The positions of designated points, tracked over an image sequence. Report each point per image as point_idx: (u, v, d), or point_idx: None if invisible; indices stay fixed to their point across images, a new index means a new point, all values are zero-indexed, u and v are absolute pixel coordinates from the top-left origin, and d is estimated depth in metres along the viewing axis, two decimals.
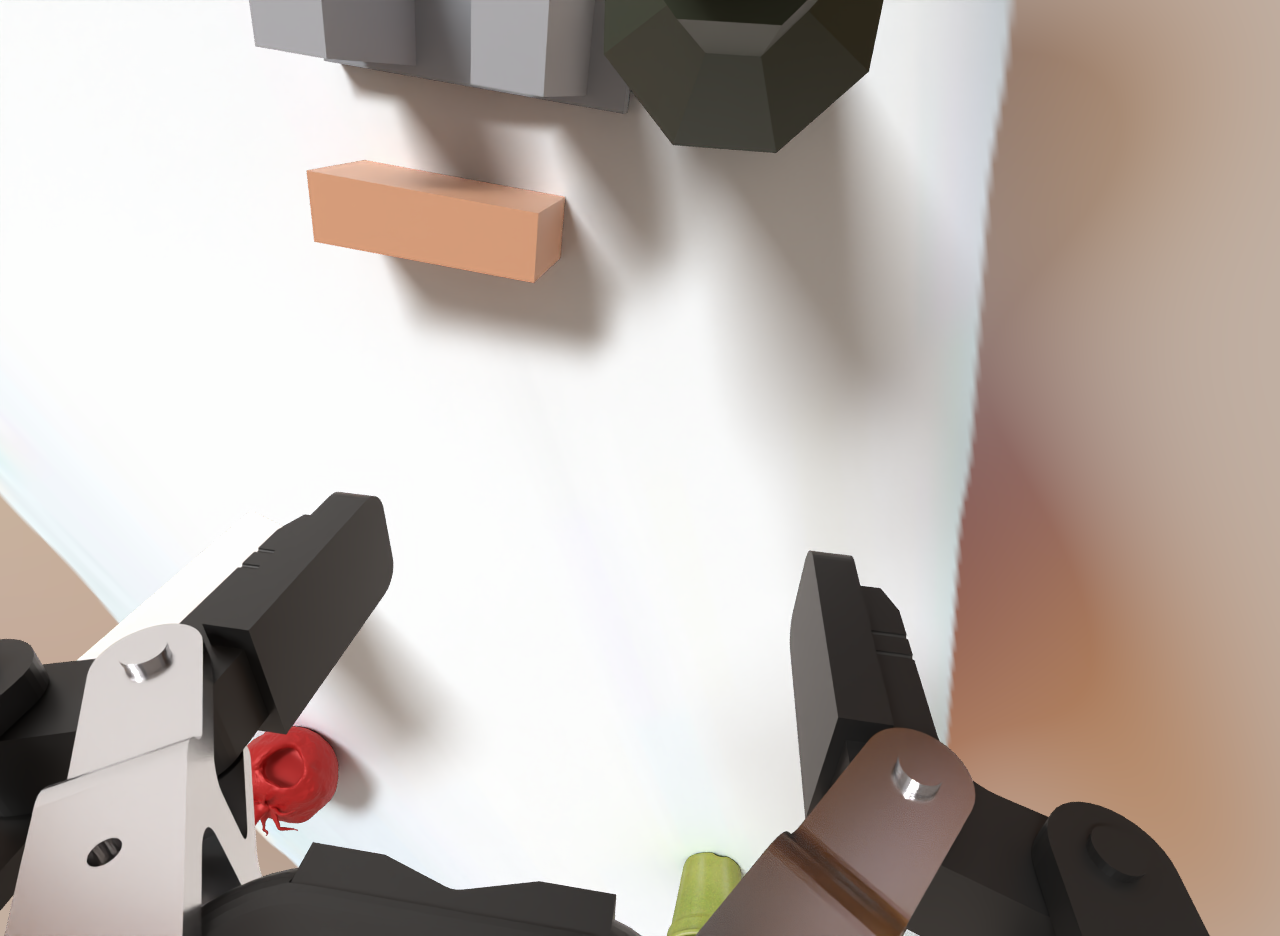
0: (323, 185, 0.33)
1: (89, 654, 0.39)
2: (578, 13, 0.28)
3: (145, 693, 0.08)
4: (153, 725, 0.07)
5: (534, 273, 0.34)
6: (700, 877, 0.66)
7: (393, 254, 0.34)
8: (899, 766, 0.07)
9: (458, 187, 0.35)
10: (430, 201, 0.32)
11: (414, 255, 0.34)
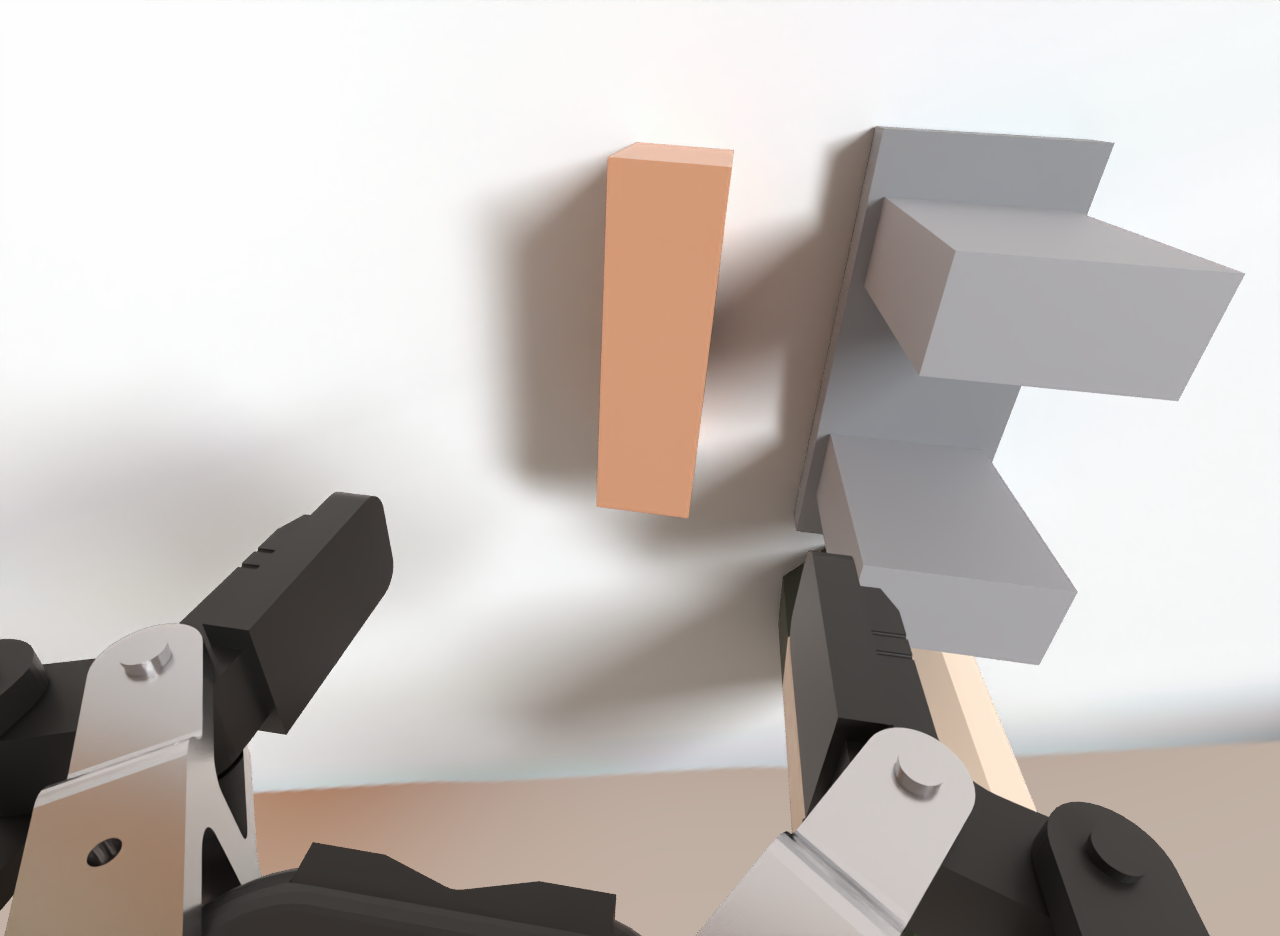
0: (707, 196, 0.18)
1: None
2: None
3: (145, 693, 0.08)
4: (153, 725, 0.07)
5: (609, 506, 0.24)
6: None
7: (606, 308, 0.20)
8: (899, 766, 0.07)
9: None
10: (693, 379, 0.21)
11: (609, 344, 0.21)
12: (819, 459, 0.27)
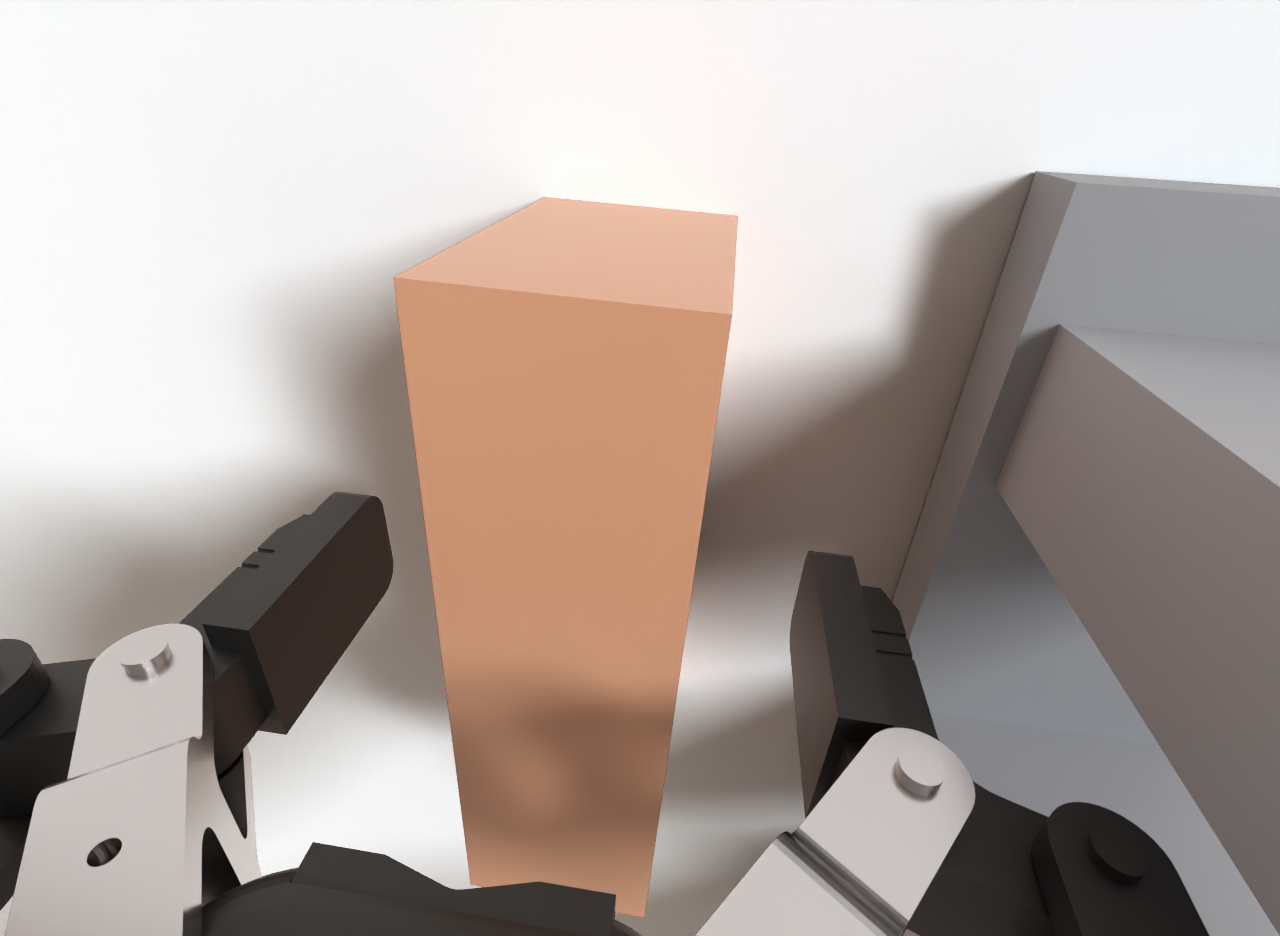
0: (665, 382, 0.07)
1: None
2: None
3: (145, 693, 0.08)
4: (153, 725, 0.07)
5: (495, 884, 0.13)
6: None
7: (441, 597, 0.09)
8: (899, 766, 0.07)
9: None
10: (645, 729, 0.10)
11: (458, 658, 0.09)
12: None
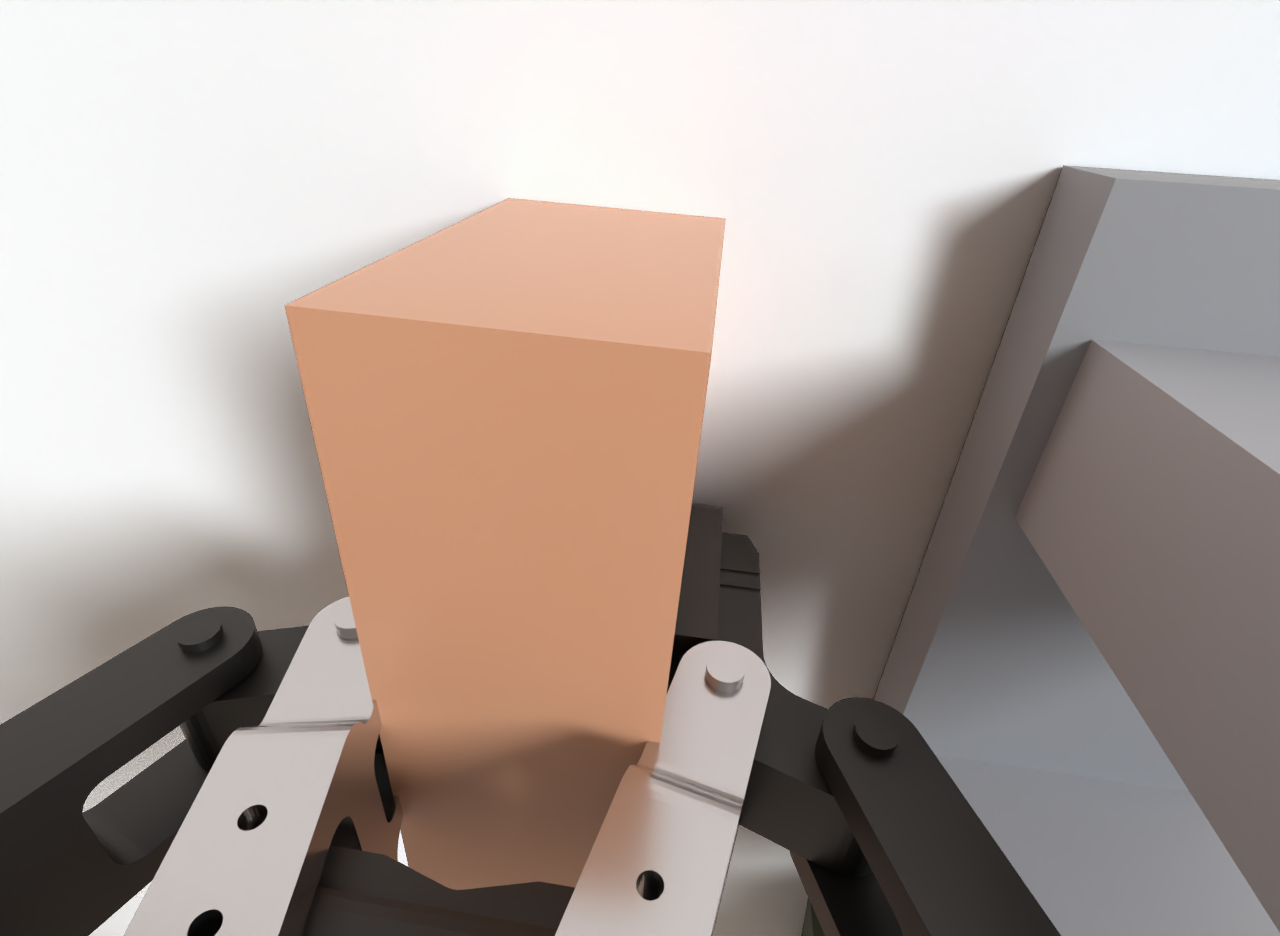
0: (630, 434, 0.05)
1: None
2: None
3: (343, 658, 0.08)
4: None
5: None
6: None
7: (374, 675, 0.07)
8: (707, 669, 0.08)
9: None
10: None
11: (399, 740, 0.08)
12: None
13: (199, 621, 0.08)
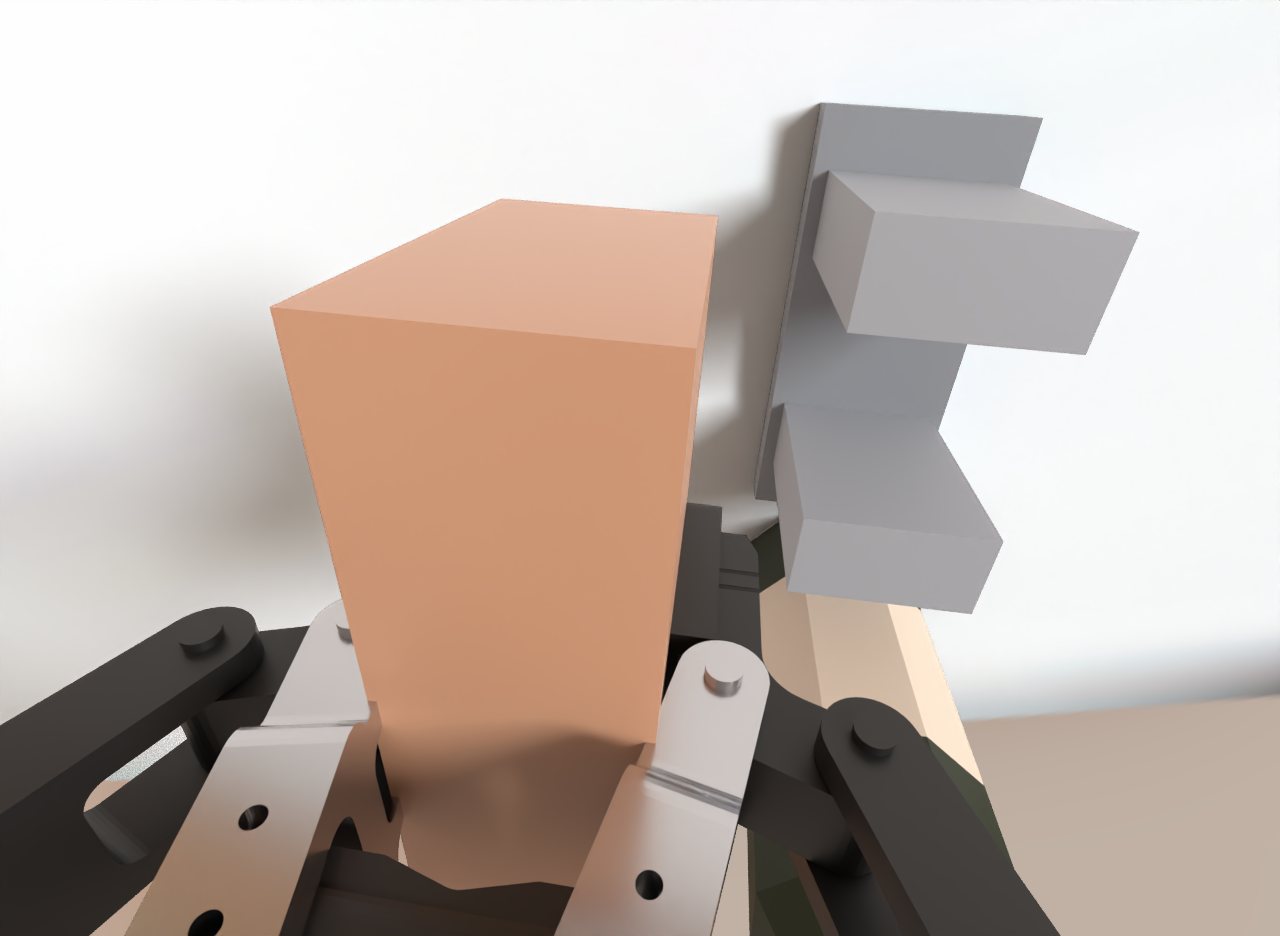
0: (617, 432, 0.05)
1: None
2: None
3: (344, 658, 0.08)
4: None
5: None
6: None
7: (369, 677, 0.07)
8: (706, 668, 0.08)
9: None
10: None
11: (396, 742, 0.08)
12: (775, 428, 0.28)
13: (200, 622, 0.08)
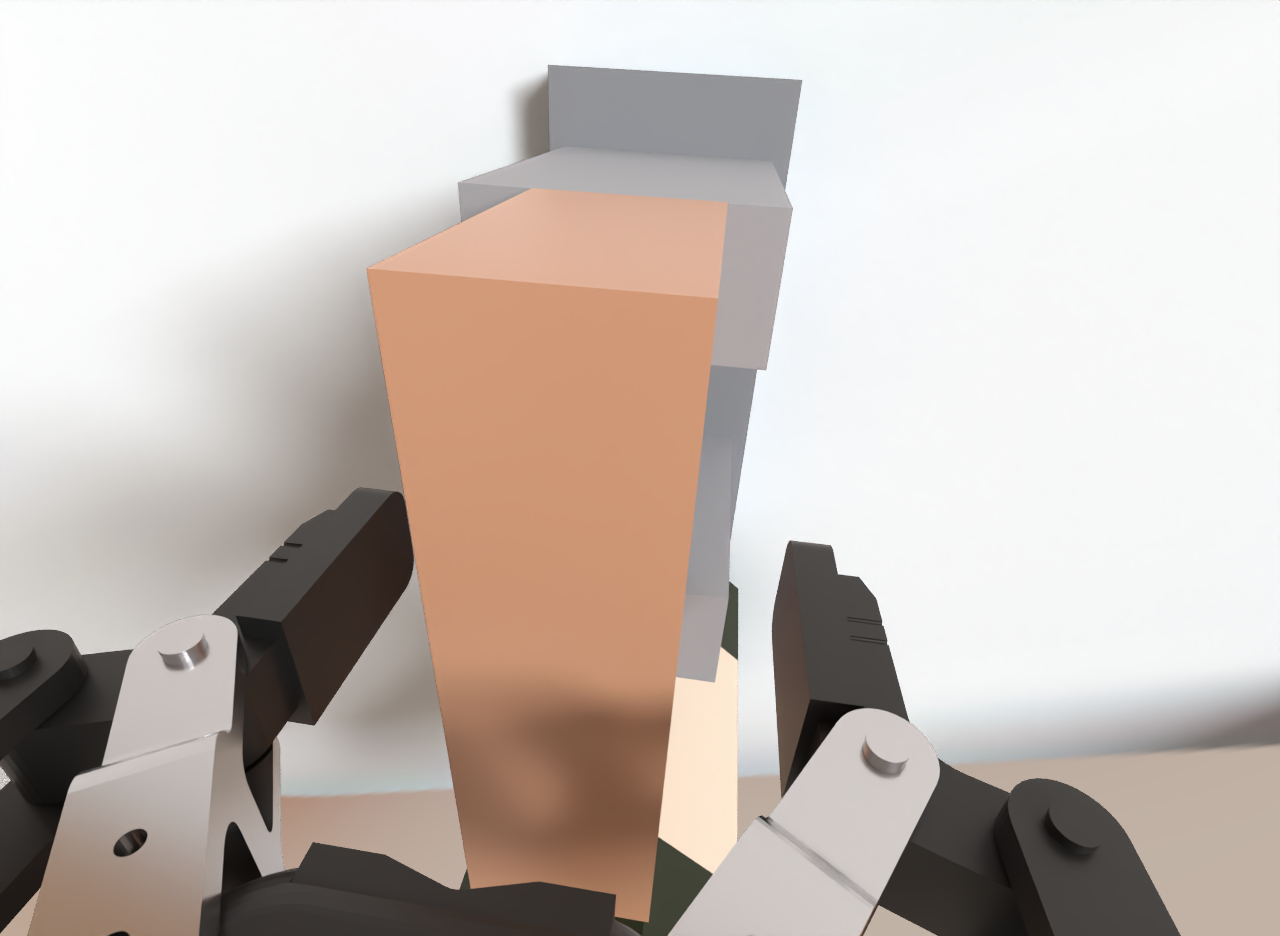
0: (651, 371, 0.07)
1: None
2: None
3: (180, 683, 0.08)
4: (194, 713, 0.07)
5: None
6: None
7: (429, 599, 0.09)
8: (866, 744, 0.07)
9: None
10: (643, 731, 0.09)
11: (449, 661, 0.09)
12: None
13: (2, 649, 0.08)
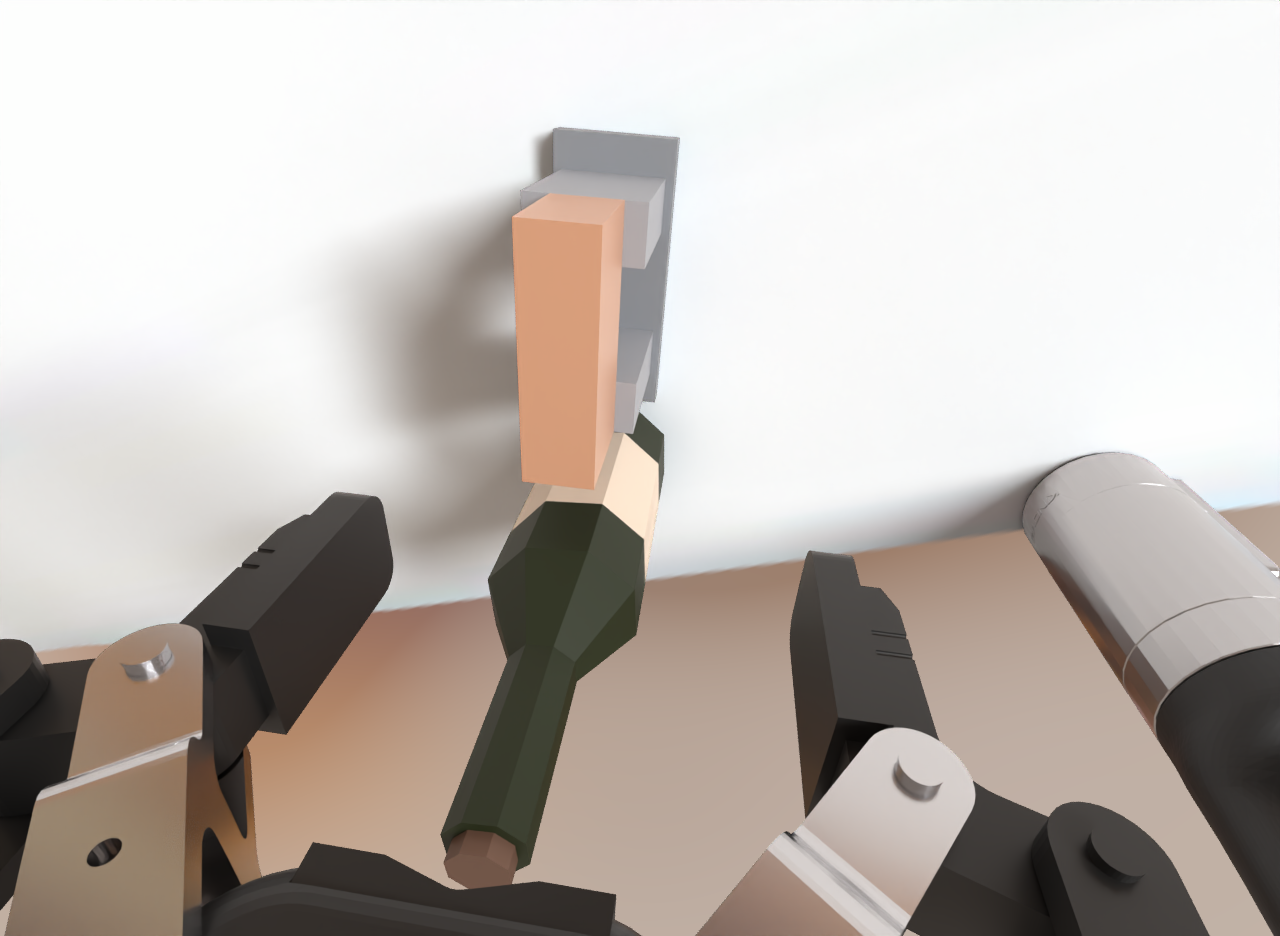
0: (586, 245, 0.25)
1: None
2: None
3: (145, 693, 0.08)
4: (153, 726, 0.07)
5: (532, 481, 0.31)
6: None
7: (518, 327, 0.27)
8: (899, 766, 0.07)
9: (608, 366, 0.30)
10: (588, 381, 0.28)
11: (523, 354, 0.27)
12: None
13: None
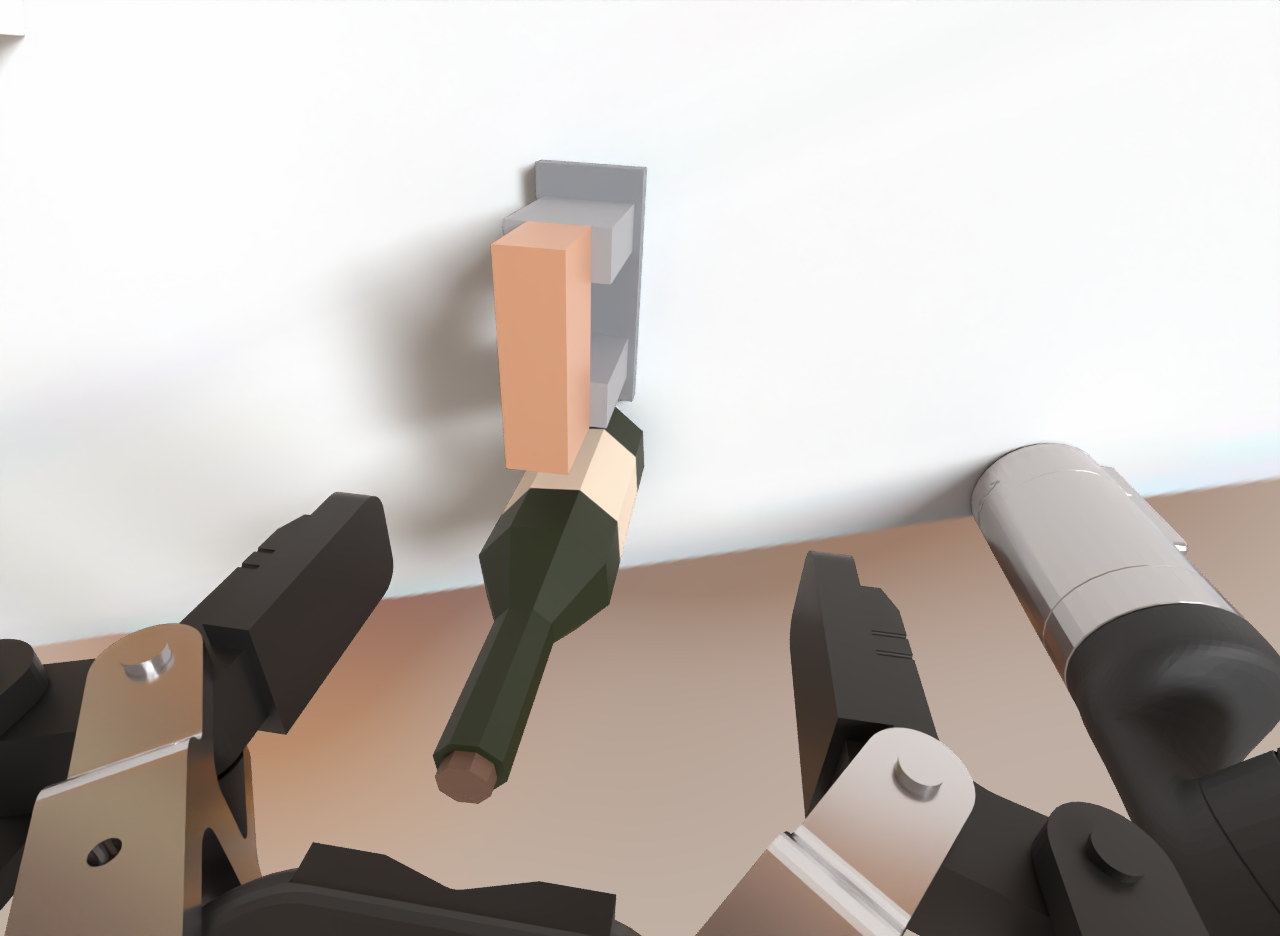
0: (553, 267, 0.30)
1: None
2: None
3: (145, 693, 0.08)
4: (153, 725, 0.07)
5: (514, 468, 0.36)
6: None
7: (499, 336, 0.32)
8: (899, 766, 0.07)
9: (578, 368, 0.35)
10: (559, 380, 0.32)
11: (503, 358, 0.32)
12: None
13: None
